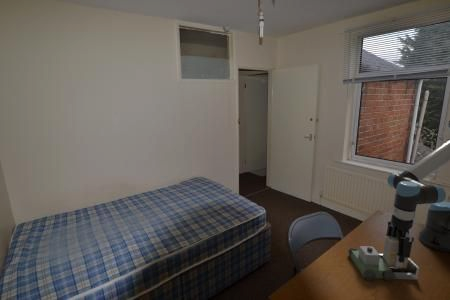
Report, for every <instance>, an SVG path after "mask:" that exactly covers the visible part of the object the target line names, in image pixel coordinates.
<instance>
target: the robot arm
mask: <svg viewBox="0 0 450 300" xmlns="http://www.w3.org/2000/svg"><path fill="white" fill-rule="evenodd" d="M449 163H450V136H449V137H447V138H446V142H444V143H442V144H441V145H440V146H439V147H437V148H435V149H434V150H432V151H431V152H430V153H428V154H427V155H426V156H424V157H423V158H422V159H419V160H418V161H417V162H416V163H413V164H412V165H411V166H410V167H408V168H407V169H406V170H404V171H402V172H401V173H399V172H393V173H391V174H389V175H388V177H387V184H388V186H389V187H391V188H393V189H394V190H395V196H394V201H393V203H394V204H393V206H392V207H393V209H392V215H391V218H390V221H387V231H386V233H385V234H386V235H385V237H386V236H390V237H397V239H398V240H399V254H397V257H396V262H395V267H400V268H402V266H403V262H404V259H405V258H411V252H412V247H413V246H412V245H413V243H414V240H415V238H414V237H412V236H411V235H410V230H411V229H413V224H414V219H415V216H416V209H417V205H425V204H426V205H428V204H429V207H427V208H428V209H427V214H426V220H425V225H424V226H423V228H422V229H421V231H419V233H418V237H417V238H418V240H419V241H420V242H421V243H422V244H424V245H425V246H427V247H429V248H430V249H434V250H435V251H436V250H437V251H439V252H445V253H450V201H445V200H446V198H447V193H446V190H445V189H444V188H443V187H441V186H440V185H437V184H429V185H428V184H426V183H424V182H422V181H424V180H425V179H426V178H428V177H429V176H431V175H433V174H434V173H435V172H437V171H438V170H439V169H441V168H442V167H444V166H446V165H448V164H449Z"/></svg>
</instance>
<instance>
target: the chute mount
mask: <svg viewBox="0 0 450 300" xmlns="http://www.w3.org/2000/svg"><path fill="white" fill-rule="evenodd" d="M379 254H380V258H381V259H382V257H383V253H379ZM389 268H390V269H391V271H392V272H393V273H394V274H395V279H394V280H410V281H411V280H412V281H414V280H418V277H419V272H420V267H419V266H418V265H417V264H416V263H415V262H414V261H413V260H412V259H411V257H409V258H408V263H407V268H406V269H403V268H393V267H389Z"/></svg>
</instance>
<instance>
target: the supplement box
mask: <svg viewBox="0 0 450 300" xmlns="http://www.w3.org/2000/svg"><path fill="white" fill-rule="evenodd" d="M382 252H383V253H382V254H383V257H382V260H383V261H384V262H385V263H386V265H387V266H388V267H393V268H400V267H395V262H396V257H397V254H399V240H398V239H397V237H390V236H386V235H385V239H384V245H383V251H382ZM407 263H408V258H405V259H404V262H403V266H402V268H403V269H406V268H407Z"/></svg>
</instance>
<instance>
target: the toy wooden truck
mask: <svg viewBox="0 0 450 300" xmlns="http://www.w3.org/2000/svg"><path fill="white" fill-rule="evenodd" d="M347 252H348V254H349V256H350V258H351V260H352V262H353V263H354V265H355V266H356V268H357V269H358V271H359V272H360V273H361V275H362V277H363V278H365V280H366V281H369V282H371V281H373V280H376V279H384V280H385V281H386V282H393V281H395V280H396V279H395V274H394V273H393V272H392V271H391V269H390V268H389V267H388V266H387V265H386V263H385V262H384V261H383V260H382V259H381V258H380V254H381V253H379V252H378V251H377V249H376V248H375V247H374V246H371V245H370V246H367V245H365V246H364V245H362V246H361V245H360V246H359V248H358V249H357V248H356V247H350V248H349V249H348V251H347Z"/></svg>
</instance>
